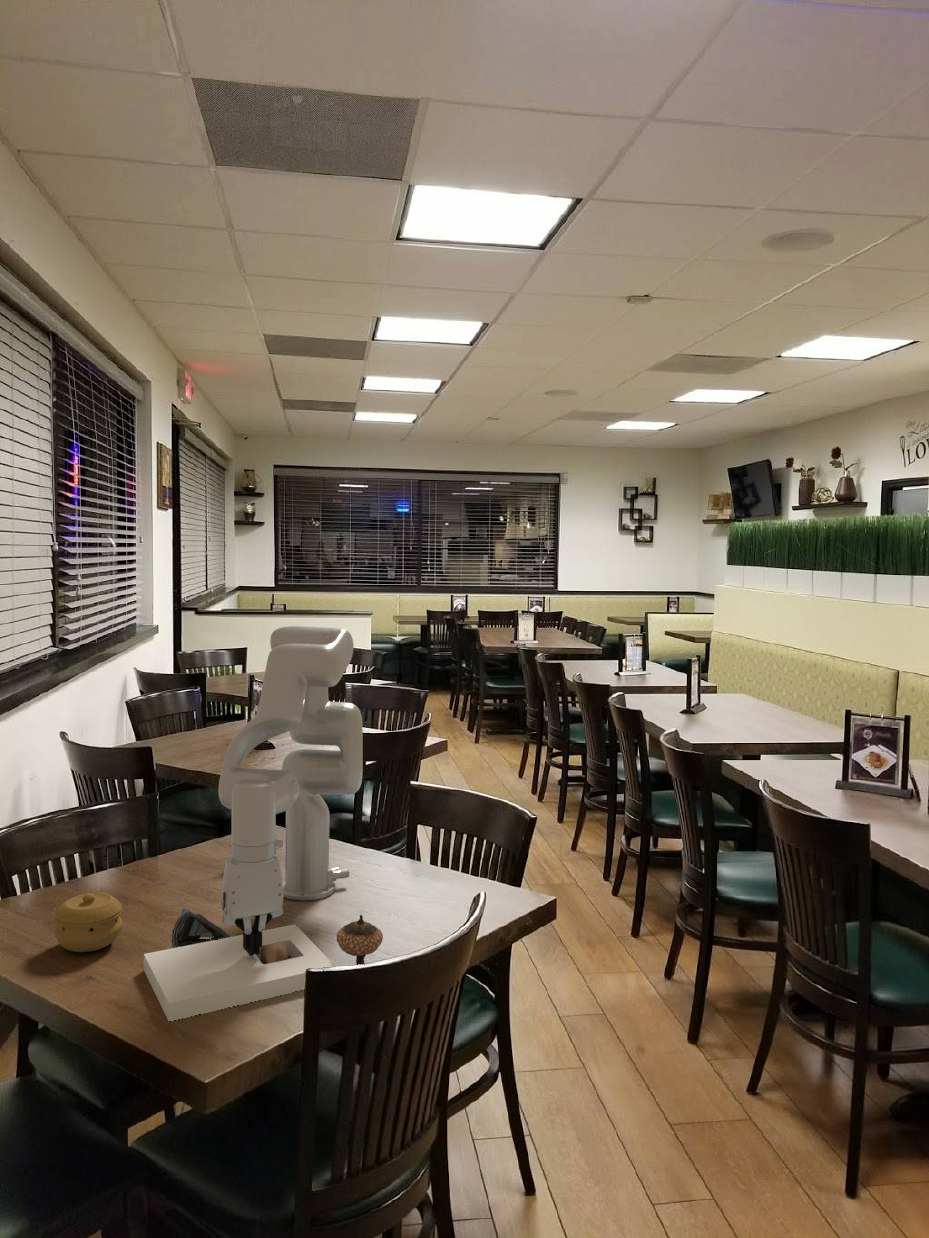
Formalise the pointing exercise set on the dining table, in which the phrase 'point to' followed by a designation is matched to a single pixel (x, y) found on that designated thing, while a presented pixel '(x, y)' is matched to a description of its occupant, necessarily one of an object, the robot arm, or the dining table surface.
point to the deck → (228, 972)
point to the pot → (88, 922)
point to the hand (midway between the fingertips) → (252, 951)
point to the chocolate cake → (194, 929)
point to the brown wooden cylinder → (273, 953)
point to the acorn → (359, 939)
